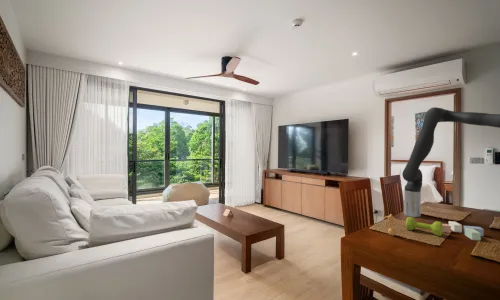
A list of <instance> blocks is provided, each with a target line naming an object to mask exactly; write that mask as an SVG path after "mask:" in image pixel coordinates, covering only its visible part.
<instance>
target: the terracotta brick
mask: <svg viewBox="0 0 500 300" xmlns="http://www.w3.org/2000/svg"><path fill="white" fill-rule="evenodd" d="M442 225H443V233H445V232H446V233H448V234H451V233H452V230H451V226H450V225H449V223H448V224H447V223H442ZM446 233H445V234H446Z"/></svg>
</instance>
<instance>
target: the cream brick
mask: <svg viewBox="0 0 500 300" xmlns="http://www.w3.org/2000/svg"><path fill="white" fill-rule="evenodd" d="M448 225H450V226H451V231H453V232H455V233H463V226H462V225H463V224H461V223H459V222H457V221H451V220H449V221H448Z"/></svg>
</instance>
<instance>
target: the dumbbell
mask: <svg viewBox="0 0 500 300" xmlns="http://www.w3.org/2000/svg"><path fill="white" fill-rule="evenodd" d="M406 217H407V218H406V220H405V228H406V230H408V231H410V230H411V231H414V229H416V228H418V229H424V230H427V231H431V232H432V233H433V234H434V235H435V236H436V235H437V237H442V236H443V233H444V232H443V225H442V224H443V223H442V222H441V221H438V220H437V221H434V222H432V224H429V223H425V222H417V221H416V220H415V217H411V216H406Z"/></svg>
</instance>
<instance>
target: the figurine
mask: <svg viewBox="0 0 500 300" xmlns="http://www.w3.org/2000/svg"><path fill="white" fill-rule="evenodd" d="M386 218H387V219H388V220H387V222H388V224H389V228H388V230H387V232H388V235H390V236H396V235H397V230H396V229H395V228H394V227H395V222H394V220H395V221H396V222H397V223H399V225H401V223H400V221H398V219H397V218H395V217H394V216H393V214H392V213H390V214H389V215H386V216H383V219H382V220H383V221H385V219H386ZM391 224H392V225H391ZM391 226H392V227H391Z"/></svg>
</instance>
